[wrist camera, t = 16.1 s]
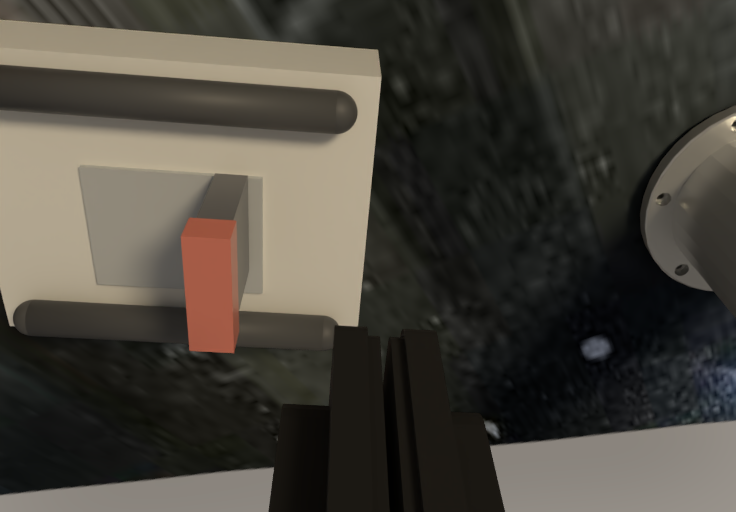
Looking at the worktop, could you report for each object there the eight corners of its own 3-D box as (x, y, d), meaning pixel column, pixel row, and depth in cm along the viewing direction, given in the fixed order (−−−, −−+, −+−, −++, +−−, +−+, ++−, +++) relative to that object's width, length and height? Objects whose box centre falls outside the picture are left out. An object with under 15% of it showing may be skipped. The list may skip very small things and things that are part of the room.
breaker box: (377, 49, 35) (382, 90, 29) (355, 295, 43) (356, 366, 37) (-10, 18, 33) (-89, 54, 27) (44, 277, 42) (-7, 348, 36)
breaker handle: (251, 172, 32) (230, 239, 26) (253, 273, 35) (234, 352, 30) (210, 169, 32) (180, 236, 26) (215, 271, 35) (189, 350, 30)
